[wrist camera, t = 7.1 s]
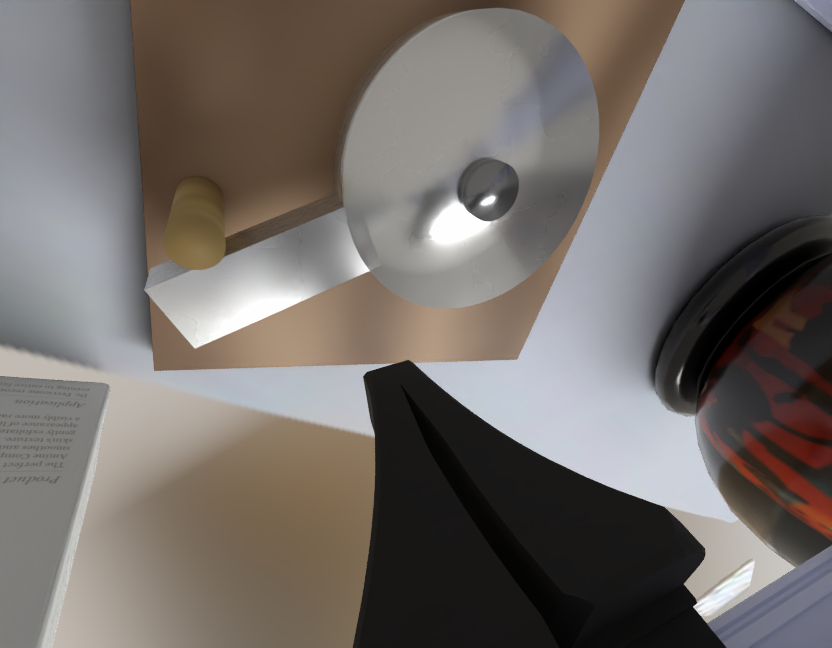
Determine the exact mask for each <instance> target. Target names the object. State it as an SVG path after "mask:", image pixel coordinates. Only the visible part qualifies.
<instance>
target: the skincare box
mask: <svg viewBox="0 0 832 648" xmlns="http://www.w3.org/2000/svg"><path fill="white" fill-rule="evenodd" d="M109 395H110V386H109V385H108V384H104V383H94V382H77V381H62V380H47V379H32V378H18V377H3V376H0V648H52V646H53V641H54V638H55V634H56V630H57V625H58V621H59V618H60V613H61V609H62V605H63V601H64V597H65V593H66V589H67V585H68V581H69V577H70V573H71V569H72V564H73V560H74V556H75V552H76V548H77V543H78V539H79V535H80V531H81V527H82V523H83V519H84V515H85V511H86V506H87V502H88V499H89V495H90V490H91V486H92V482H93V478H94V474H95V470H96V465H97V457H98V451H99V445H100V439H101V434H102V429H103V423H104V419H105V414H106V409H107V404H108V400H109Z"/></svg>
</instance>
